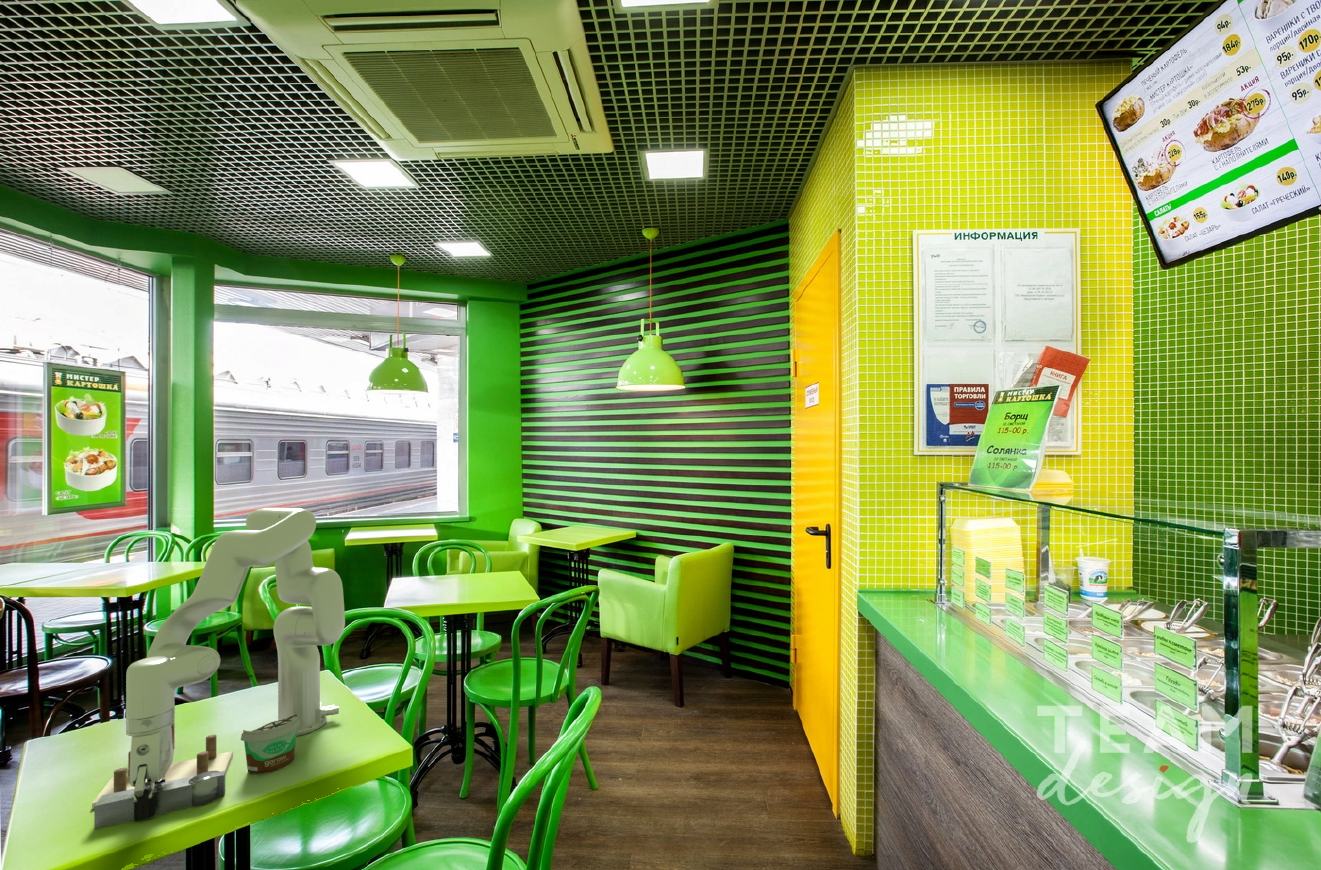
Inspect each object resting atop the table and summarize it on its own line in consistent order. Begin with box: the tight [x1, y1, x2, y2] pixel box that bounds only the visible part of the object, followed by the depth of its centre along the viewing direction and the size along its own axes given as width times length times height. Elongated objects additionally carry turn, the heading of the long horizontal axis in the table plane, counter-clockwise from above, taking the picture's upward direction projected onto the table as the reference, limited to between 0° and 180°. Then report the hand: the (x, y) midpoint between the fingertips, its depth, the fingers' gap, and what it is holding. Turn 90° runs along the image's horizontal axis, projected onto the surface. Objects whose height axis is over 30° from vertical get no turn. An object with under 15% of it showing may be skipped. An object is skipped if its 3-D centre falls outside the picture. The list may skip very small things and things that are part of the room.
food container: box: [240, 711, 301, 775], centre depth 138 cm, size 12×6×10 cm, turn 148°
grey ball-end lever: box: [93, 771, 226, 830], centre depth 122 cm, size 20×5×5 cm, turn 117°
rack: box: [91, 734, 234, 810], centre depth 132 cm, size 22×12×6 cm, turn 117°
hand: (150, 808), depth 121 cm, fingers open, 6 cm apart
